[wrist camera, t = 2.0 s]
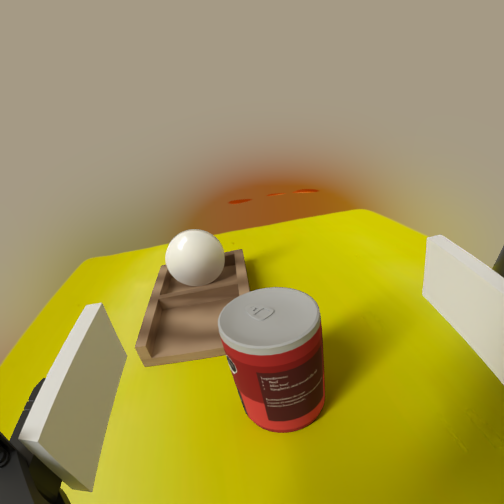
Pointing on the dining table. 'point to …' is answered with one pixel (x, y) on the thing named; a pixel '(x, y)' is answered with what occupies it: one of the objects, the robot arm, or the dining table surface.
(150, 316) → the walnut tray
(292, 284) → the dining table surface
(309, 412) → the canned food
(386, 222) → the dining table surface
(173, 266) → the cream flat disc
